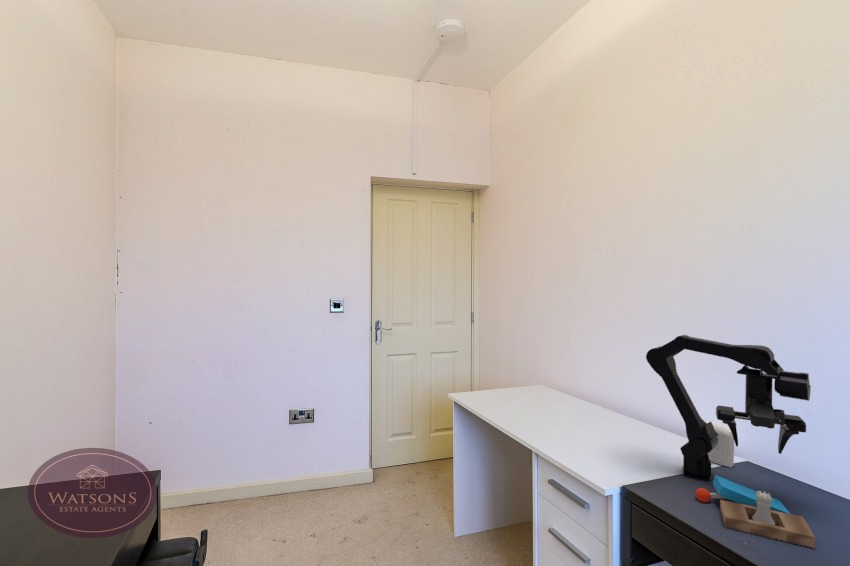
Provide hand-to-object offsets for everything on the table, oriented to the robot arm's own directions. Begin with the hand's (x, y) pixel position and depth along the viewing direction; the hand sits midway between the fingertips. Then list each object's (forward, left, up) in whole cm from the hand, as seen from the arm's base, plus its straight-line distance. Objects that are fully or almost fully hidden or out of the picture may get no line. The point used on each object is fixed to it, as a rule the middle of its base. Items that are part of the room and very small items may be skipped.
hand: (757, 449), depth 114 cm
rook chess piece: (-2, -19, -12) cm, 23 cm away
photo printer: (-8, +19, -12) cm, 24 cm away
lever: (-6, -11, -13) cm, 18 cm away
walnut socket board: (-2, -19, -12) cm, 23 cm away
